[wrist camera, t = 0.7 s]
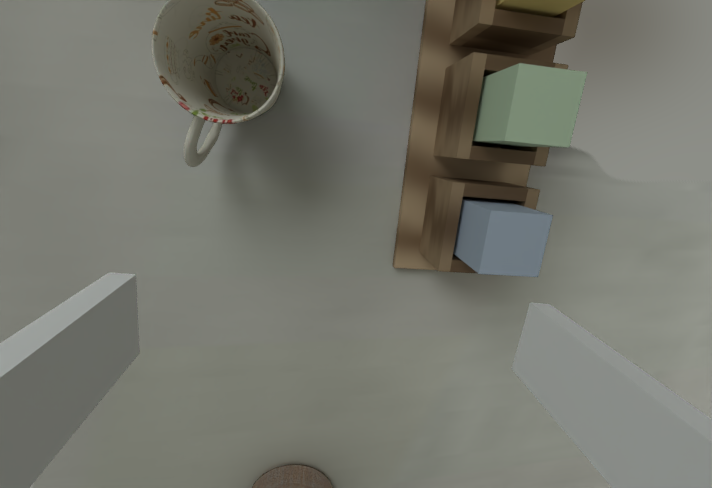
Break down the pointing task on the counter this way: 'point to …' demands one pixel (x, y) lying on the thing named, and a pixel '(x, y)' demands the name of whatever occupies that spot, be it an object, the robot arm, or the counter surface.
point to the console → (466, 123)
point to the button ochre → (537, 6)
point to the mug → (217, 64)
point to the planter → (293, 478)
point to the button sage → (529, 106)
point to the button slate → (501, 237)
